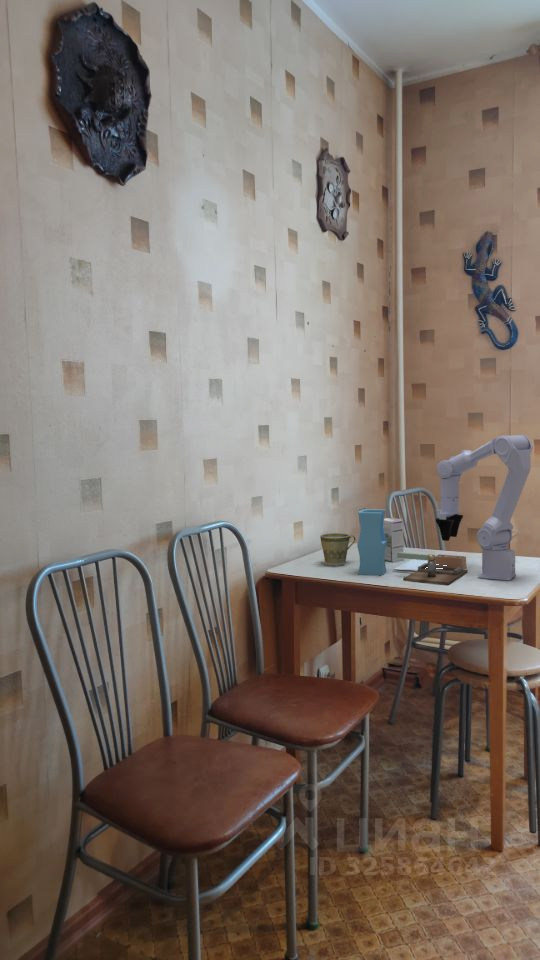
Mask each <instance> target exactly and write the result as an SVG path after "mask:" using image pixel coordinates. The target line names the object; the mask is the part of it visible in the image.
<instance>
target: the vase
mask: <svg viewBox="0 0 540 960" xmlns="http://www.w3.org/2000/svg"><path fill="white" fill-rule="evenodd" d="M386 512H387V509H376V508H375V509H371V508H370V509H369V508H368V509H367V508H364V509H360V510H359V511H358V512H357V514H358V519H359V525H360V526H359V527H360V529H359V530H360V531H359V537H358V540H357V547H356V548H357V550H358V555H359V566H358V567H359V568H358V572H357V575H359V576H361V575H363V576H379V577H380V576H384V575H385V573H386V572H387V567H386V561H385V550H386V545H387V540H386V537H385V534H384V528H383V523H384V519H385V516H386Z"/></svg>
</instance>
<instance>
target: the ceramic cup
mask: <svg viewBox="0 0 540 960" xmlns="http://www.w3.org/2000/svg"><path fill="white" fill-rule="evenodd" d="M319 537H320V543H321V547H322V551H323V556H324V562H325V565H326V566H328V567H329V566H330V567H340V566H344V565H346V563H347V555H348V550H350V548H351V546H352V545H354V544H355V542H356V536H355V535H352V534H351V535H350V534H348V533H343V532H341V533H340V532H329V533H328V532H327V533H322V534H320V536H319ZM351 538H353V542H352V543H351V544H350V539H351Z"/></svg>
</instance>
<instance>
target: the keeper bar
mask: <svg viewBox="0 0 540 960" xmlns="http://www.w3.org/2000/svg"><path fill="white" fill-rule="evenodd" d="M435 556H436V555H435V554H426V553H414V552H413V553H412V552H404V551H403V552H398V553H397V558H404V559H406V560H417V561H427V562H428V561H435Z"/></svg>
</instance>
